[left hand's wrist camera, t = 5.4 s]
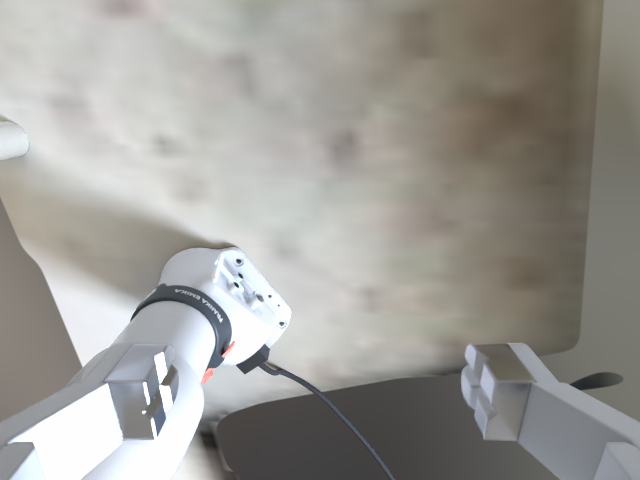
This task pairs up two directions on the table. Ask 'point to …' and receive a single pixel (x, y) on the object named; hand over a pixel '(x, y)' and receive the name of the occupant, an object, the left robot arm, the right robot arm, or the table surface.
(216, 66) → the table surface
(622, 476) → the left robot arm
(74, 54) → the table surface
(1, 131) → the bottle
